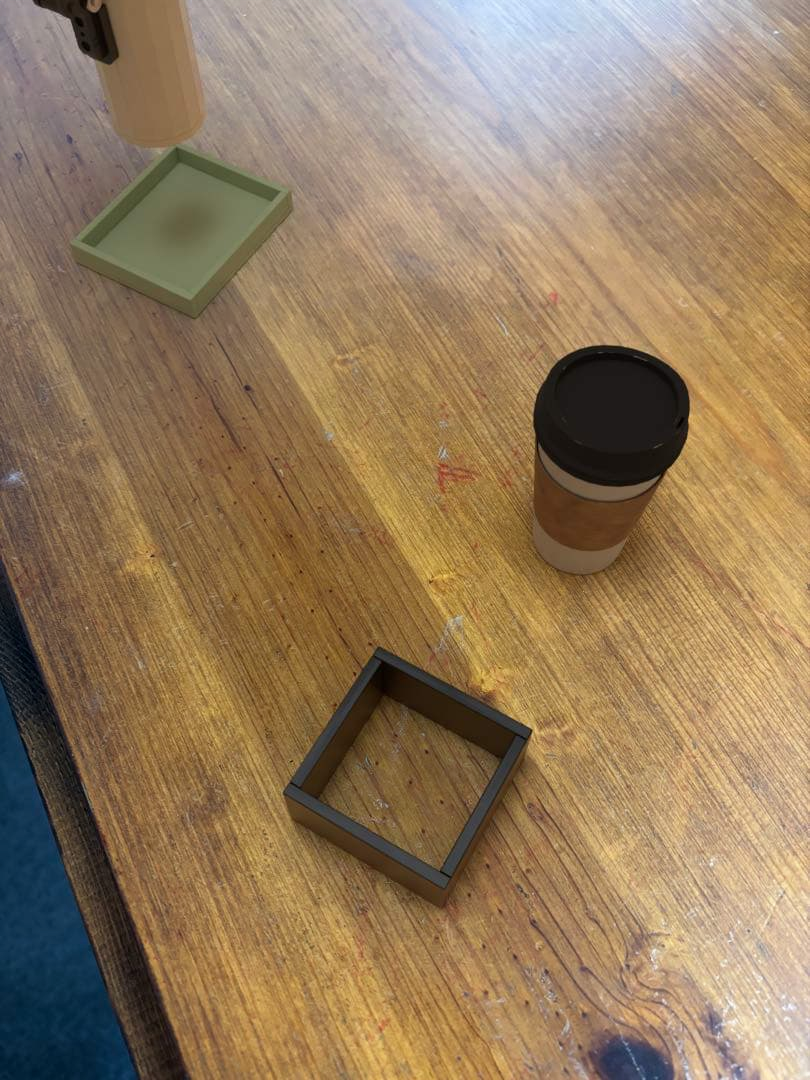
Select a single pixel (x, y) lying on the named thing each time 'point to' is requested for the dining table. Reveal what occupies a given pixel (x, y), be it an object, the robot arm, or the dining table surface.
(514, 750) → the open square frame
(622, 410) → the coffee cup
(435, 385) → the dining table surface
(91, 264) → the tray
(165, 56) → the cup
